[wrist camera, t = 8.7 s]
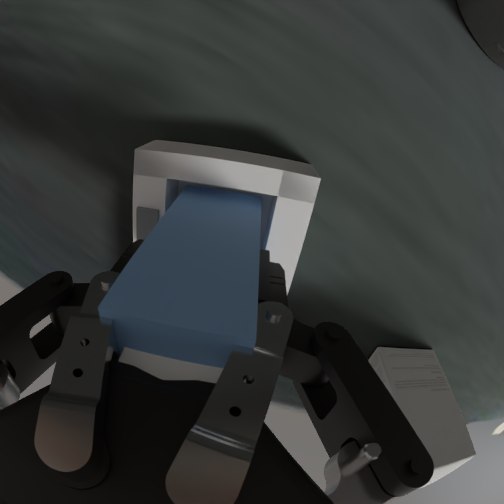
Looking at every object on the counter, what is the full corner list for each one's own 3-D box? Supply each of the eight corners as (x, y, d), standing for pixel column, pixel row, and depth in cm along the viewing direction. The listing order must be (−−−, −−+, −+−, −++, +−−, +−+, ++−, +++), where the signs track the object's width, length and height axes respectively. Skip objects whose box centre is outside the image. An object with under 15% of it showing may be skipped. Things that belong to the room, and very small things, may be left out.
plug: (187, 184, 15) (81, 335, 6) (261, 197, 15) (254, 373, 6) (182, 248, 17) (111, 414, 8) (248, 260, 17) (232, 441, 8)
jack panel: (155, 139, 15) (132, 149, 12) (311, 164, 16) (321, 179, 13) (154, 336, 23) (143, 364, 20) (258, 355, 24) (257, 386, 21)
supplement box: (342, 390, 26) (359, 503, 15) (377, 343, 23) (415, 475, 12) (398, 391, 27) (423, 488, 16) (435, 348, 23) (479, 455, 12)
